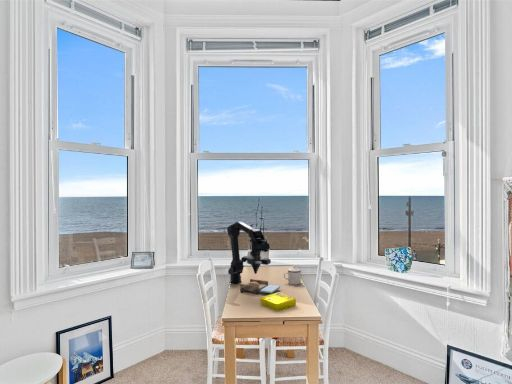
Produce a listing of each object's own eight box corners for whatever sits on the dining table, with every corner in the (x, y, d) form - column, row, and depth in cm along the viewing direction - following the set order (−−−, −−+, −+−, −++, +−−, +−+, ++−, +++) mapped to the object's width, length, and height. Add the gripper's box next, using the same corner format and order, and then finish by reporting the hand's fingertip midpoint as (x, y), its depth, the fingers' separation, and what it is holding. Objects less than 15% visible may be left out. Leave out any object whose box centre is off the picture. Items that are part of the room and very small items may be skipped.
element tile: (259, 304, 180) (259, 296, 180) (279, 299, 189) (279, 290, 189) (277, 312, 168) (277, 303, 168) (297, 306, 177) (297, 297, 177)
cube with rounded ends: (247, 287, 203) (247, 282, 203) (250, 286, 206) (250, 281, 206) (258, 288, 200) (257, 283, 200) (260, 287, 203) (260, 282, 203)
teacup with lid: (299, 280, 227) (299, 264, 227) (302, 284, 218) (302, 267, 218) (282, 281, 226) (282, 264, 226) (284, 285, 217) (284, 267, 217)
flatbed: (239, 291, 203) (239, 284, 203) (251, 285, 217) (251, 278, 217) (259, 294, 196) (259, 287, 196) (270, 287, 211) (270, 280, 211)
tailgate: (260, 290, 197) (271, 291, 194) (269, 284, 210) (280, 285, 206) (260, 291, 197) (271, 293, 194) (269, 286, 210) (280, 287, 206)
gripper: (236, 250, 203) (236, 274, 203) (263, 253, 195) (263, 278, 195) (245, 247, 213) (245, 270, 213) (271, 249, 205) (270, 274, 205)
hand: (255, 273), depth 206 cm, fingers closed
